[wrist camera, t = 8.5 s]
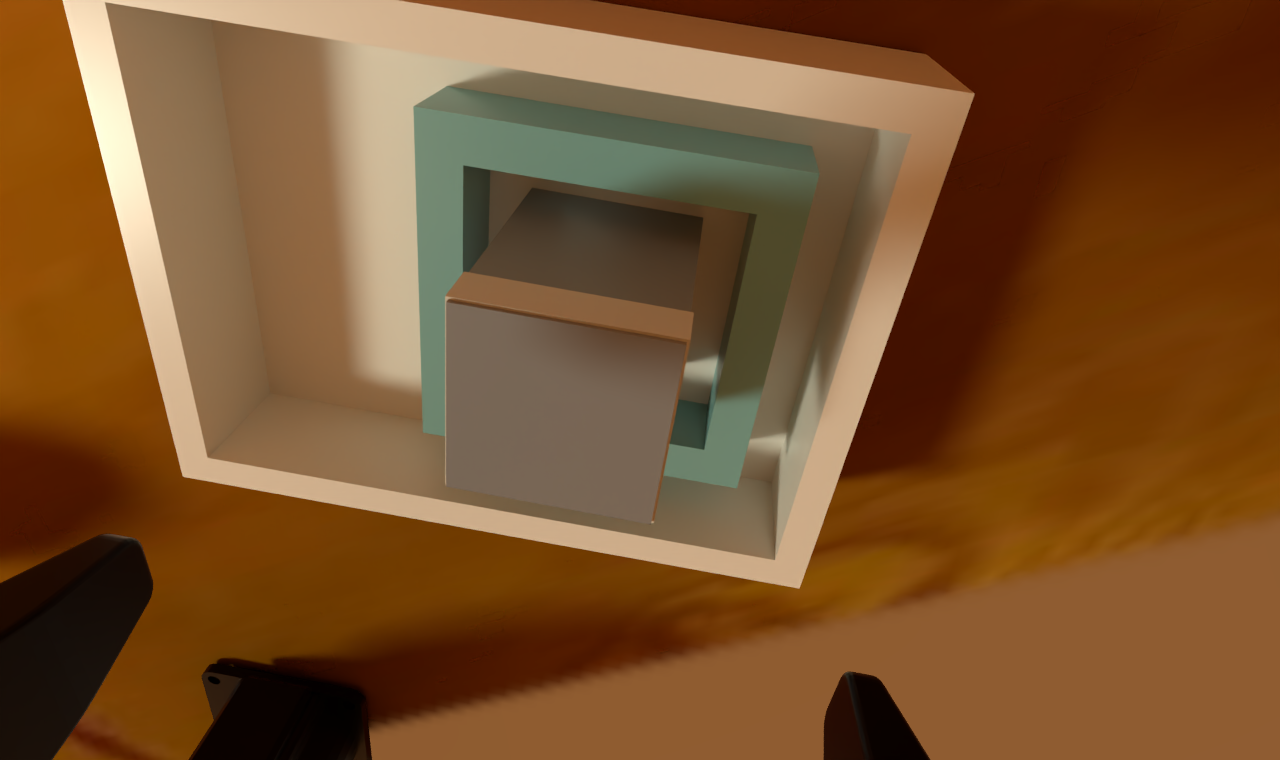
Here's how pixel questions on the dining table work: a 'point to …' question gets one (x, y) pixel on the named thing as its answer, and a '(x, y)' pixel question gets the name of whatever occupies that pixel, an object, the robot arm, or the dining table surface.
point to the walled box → (477, 210)
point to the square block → (571, 355)
